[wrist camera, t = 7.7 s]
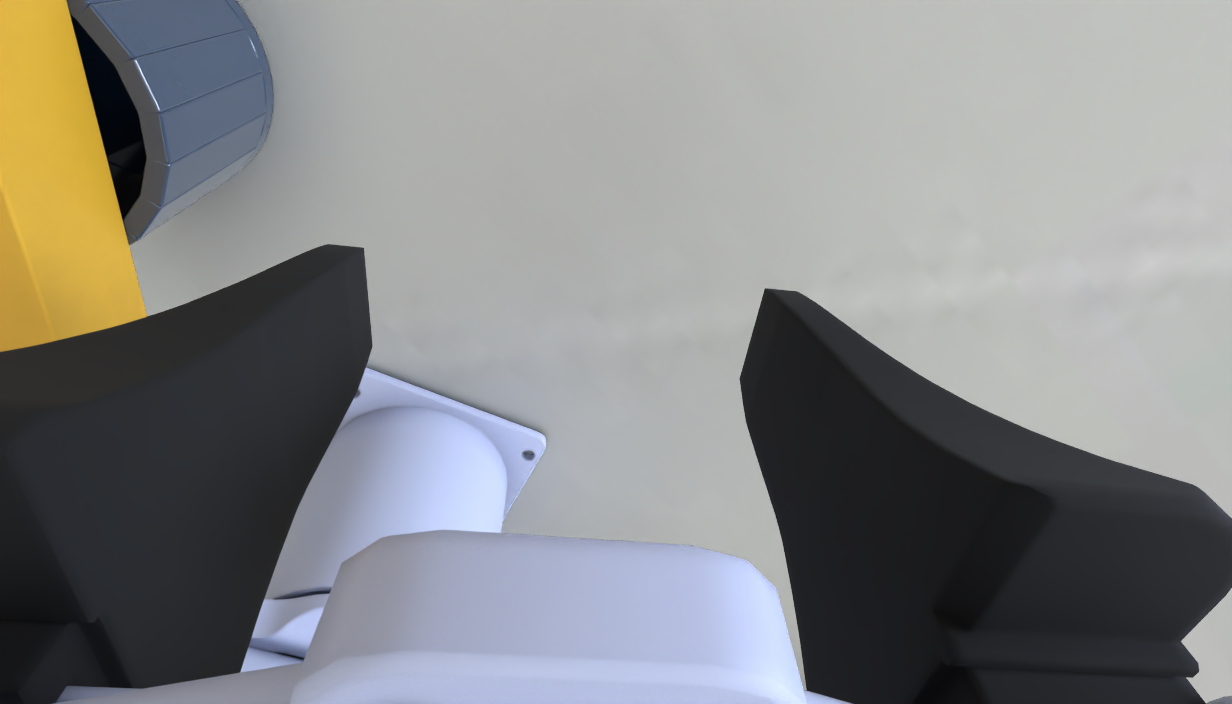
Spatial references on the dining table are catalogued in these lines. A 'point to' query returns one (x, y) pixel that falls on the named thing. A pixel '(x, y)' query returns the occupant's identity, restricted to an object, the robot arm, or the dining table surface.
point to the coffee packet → (55, 190)
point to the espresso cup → (172, 99)
